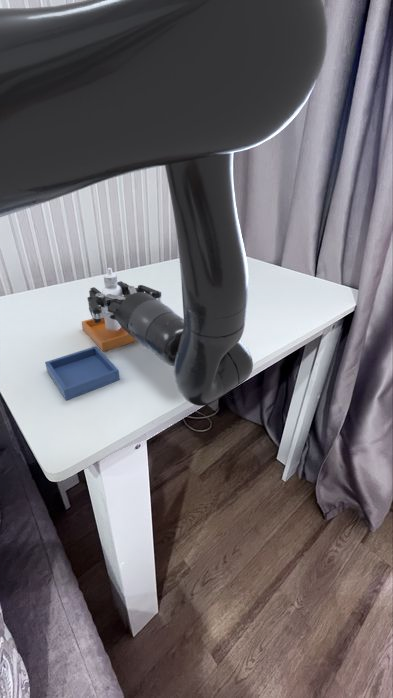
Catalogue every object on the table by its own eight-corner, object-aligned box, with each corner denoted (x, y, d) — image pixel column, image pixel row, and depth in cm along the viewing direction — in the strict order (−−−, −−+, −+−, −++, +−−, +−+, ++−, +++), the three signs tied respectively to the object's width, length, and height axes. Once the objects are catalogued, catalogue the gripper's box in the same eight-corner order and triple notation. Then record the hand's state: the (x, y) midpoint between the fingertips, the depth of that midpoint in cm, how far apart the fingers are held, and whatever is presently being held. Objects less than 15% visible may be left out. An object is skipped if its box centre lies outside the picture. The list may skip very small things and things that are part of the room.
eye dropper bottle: (97, 326, 67) (89, 269, 61) (118, 317, 71) (112, 262, 65) (112, 333, 65) (105, 275, 59) (133, 323, 69) (128, 267, 63)
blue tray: (65, 400, 51) (63, 390, 50) (47, 371, 57) (44, 362, 56) (119, 379, 56) (118, 370, 55) (97, 354, 62) (96, 345, 61)
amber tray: (103, 351, 63) (102, 343, 62) (82, 329, 70) (81, 321, 69) (149, 336, 69) (149, 328, 68) (126, 317, 75) (125, 309, 74)
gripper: (185, 291, 57) (136, 264, 68) (107, 312, 49) (66, 278, 60) (184, 329, 61) (138, 298, 72) (112, 354, 53) (73, 315, 64)
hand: (106, 289), depth 66 cm, fingers closed on eye dropper bottle, 5 cm apart
